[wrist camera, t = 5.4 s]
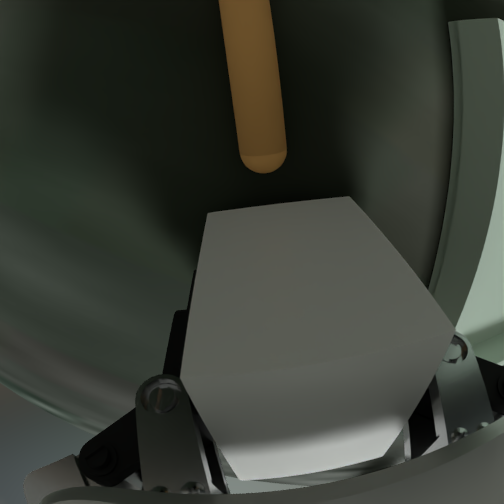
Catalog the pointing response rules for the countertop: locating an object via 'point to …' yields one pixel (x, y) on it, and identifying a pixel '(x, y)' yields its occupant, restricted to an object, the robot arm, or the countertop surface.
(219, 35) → the countertop surface
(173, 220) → the countertop surface
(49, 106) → the countertop surface
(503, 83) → the tray
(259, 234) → the pale grey cuboid
